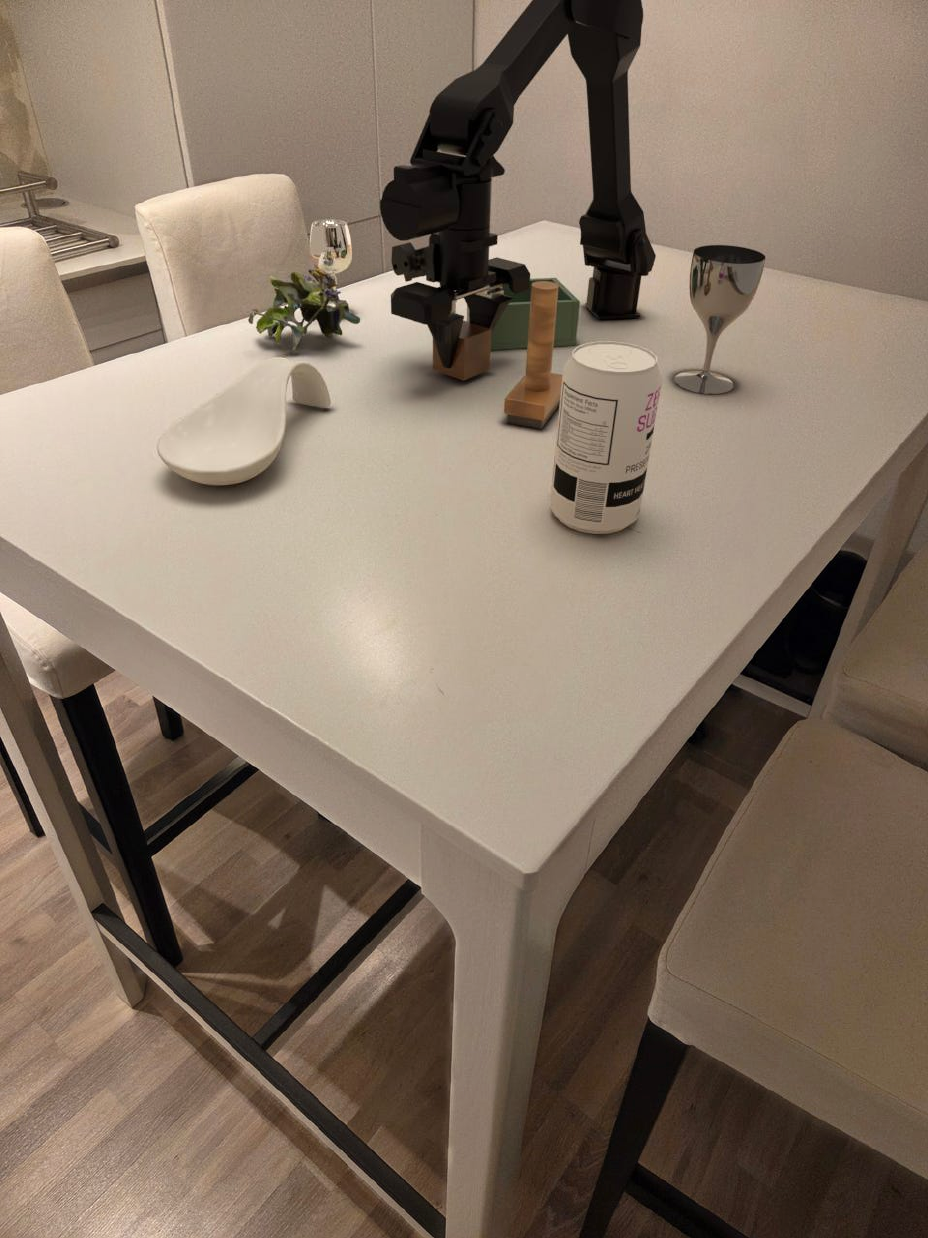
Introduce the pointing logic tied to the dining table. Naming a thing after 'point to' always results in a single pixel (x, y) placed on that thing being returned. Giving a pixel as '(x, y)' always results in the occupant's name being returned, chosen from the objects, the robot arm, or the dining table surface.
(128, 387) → the dining table surface
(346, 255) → the wineglass
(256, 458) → the spoon rest
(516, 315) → the bin
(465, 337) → the block
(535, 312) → the stamp
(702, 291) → the wine glass
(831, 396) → the dining table surface
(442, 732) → the dining table surface
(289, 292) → the passion flower
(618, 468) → the supplement can
